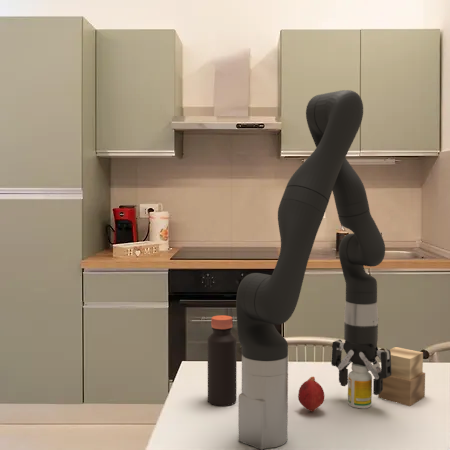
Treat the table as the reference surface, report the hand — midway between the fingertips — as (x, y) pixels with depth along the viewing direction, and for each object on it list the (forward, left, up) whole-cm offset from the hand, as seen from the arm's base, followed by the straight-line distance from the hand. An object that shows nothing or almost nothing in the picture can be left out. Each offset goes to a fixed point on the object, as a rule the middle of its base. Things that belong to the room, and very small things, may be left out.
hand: (360, 389), depth 136 cm
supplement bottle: (0, 0, -4) cm, 4 cm away
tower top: (+11, -5, +2) cm, 12 cm away
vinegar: (-20, +25, -4) cm, 32 cm away
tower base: (+11, -5, -4) cm, 12 cm away
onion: (-11, +6, -4) cm, 13 cm away
